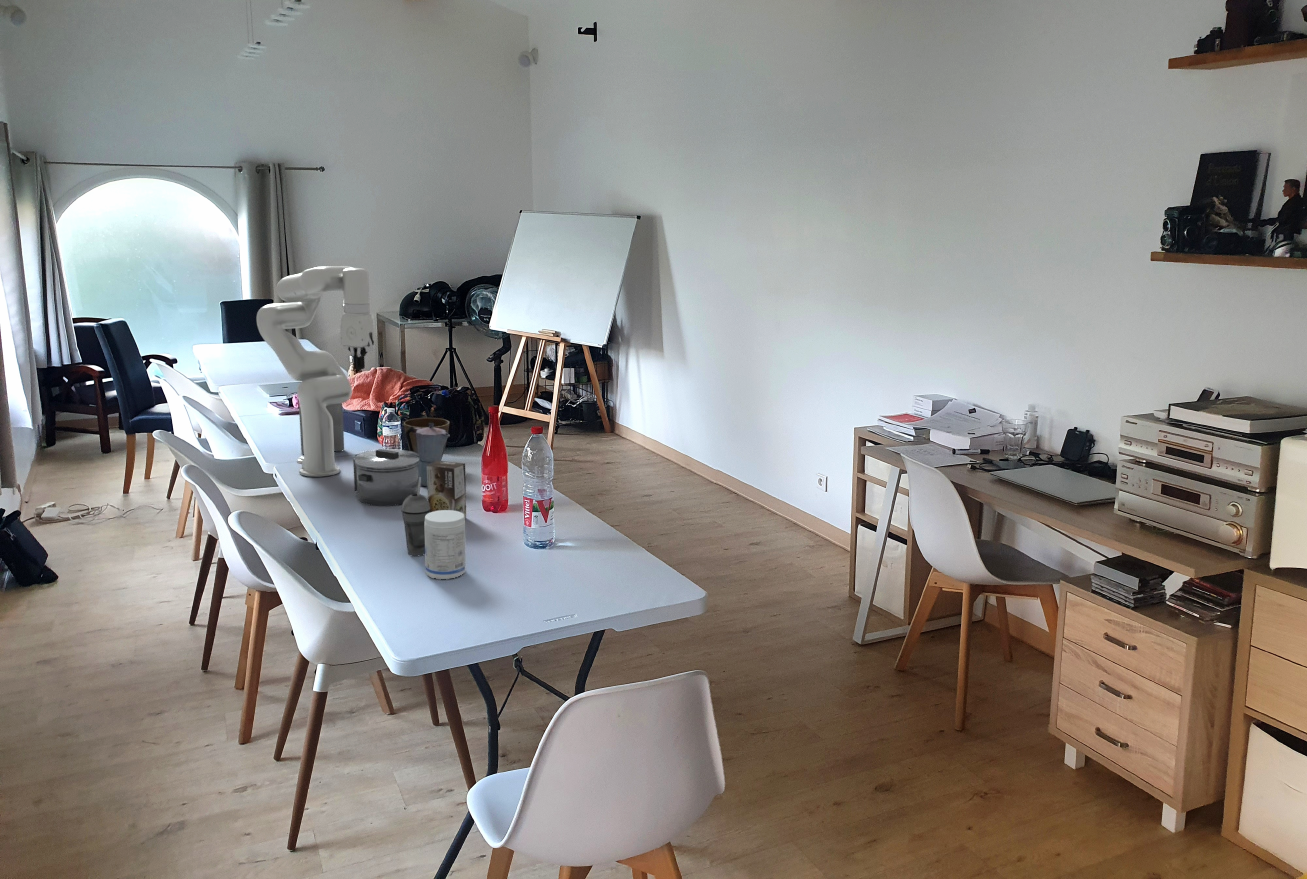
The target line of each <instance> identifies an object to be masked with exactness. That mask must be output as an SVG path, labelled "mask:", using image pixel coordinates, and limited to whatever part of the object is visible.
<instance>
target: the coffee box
mask: <svg viewBox="0 0 1307 879" xmlns="http://www.w3.org/2000/svg"><path fill="white" fill-rule="evenodd" d="M466 482H467V480H466V463H462V462H455V461H445V460H441V461H436V462H434V463H432V464H430V465H427V486H426V487H427V500H428V501H429V504H430V508H431V511H430V512H434V511H439V510H453V511H459V512H461V513H463V514H464V518H465V519H467V492H466V491H467V490H466V489H467V488H466V486H467V485H466Z"/></svg>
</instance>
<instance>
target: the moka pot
mask: <svg viewBox="0 0 1307 879" xmlns="http://www.w3.org/2000/svg"><path fill="white" fill-rule="evenodd" d="M433 425H434V423H429V428H422V429H420V428H415V427H412V426H410V428H409V429H408V430H407V431H406V433H405V437H406V441H408V442H407V445H408V444H409V446H408V448H409V447H410V450H409V451H411V452H414V450H413V448H412V443H411V438H410V435H409V433H410V432H413V433H415V434H416V438H417V448H418V453H417V454H419V464H418V476H419V477H421V485H420V487H421V486H422V487H428V486H427V465H430V464H432V463H434V462H436V461H442V460H441V459H443V457H442V453H443V447H444V444H445V442H446V443H447V441H446V440H448V438H449V437H450V434H449V432H448V433H447V432H446V431H445V430H443V429H439V428H433ZM415 453H416V452H415ZM443 454H444V453H443Z"/></svg>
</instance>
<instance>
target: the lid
mask: <svg viewBox="0 0 1307 879" xmlns="http://www.w3.org/2000/svg"><path fill="white" fill-rule="evenodd" d="M354 459H355V464H356V465H357V466H359V467H363V468H368V469H399V468H405V467H410V466H413V465H415V464H417V463H419V454H417V453H415V452H411V451H410V450H405V449H382V448H379V449H375V450H370V451H368V450H367V451H364V452H360V453H357V454H355V457H354Z"/></svg>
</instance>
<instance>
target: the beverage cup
mask: <svg viewBox="0 0 1307 879" xmlns="http://www.w3.org/2000/svg"><path fill="white" fill-rule="evenodd" d="M420 493H421V477H419V484H418V494H412V495H410V496H408V497H407V498H406V499H405V500H404V502H403V504H402V505H401V510H400V511H401V514H402V519H403V525H404V533H405V539H406V540H405V541H406V548H407V554H408V555H409V556H410V555H412V556H411V557H419V556H418V555H422V556H424V555H423V554H425V526H424V524H425V523H424V522H425V516H426V515H427V514H428V513H430V511H431V508H430V504H429V501H428V498H426V496H424V495H423V494H420Z"/></svg>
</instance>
